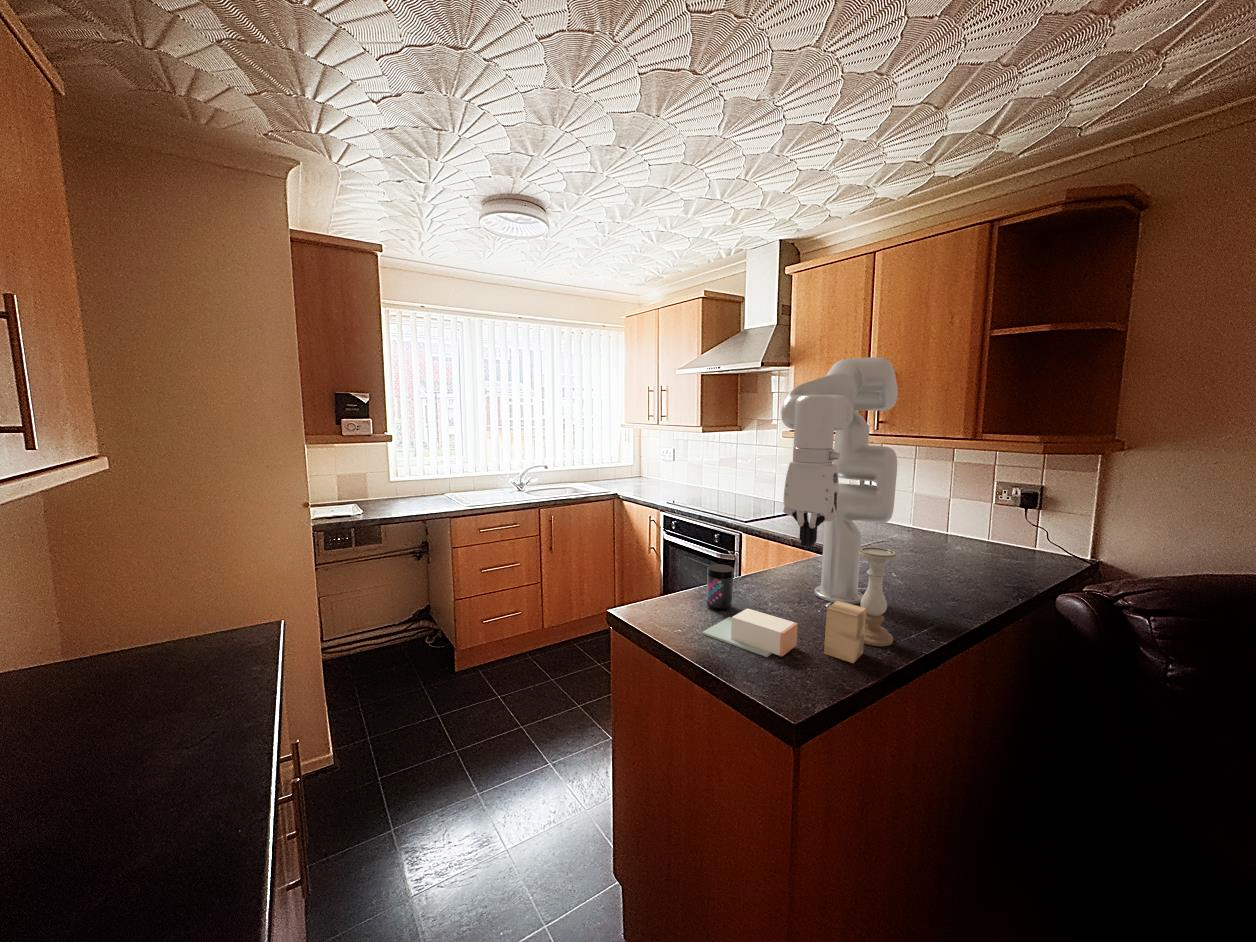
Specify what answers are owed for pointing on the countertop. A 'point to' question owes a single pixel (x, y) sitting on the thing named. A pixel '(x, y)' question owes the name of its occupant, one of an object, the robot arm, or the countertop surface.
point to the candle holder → (875, 596)
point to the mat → (724, 634)
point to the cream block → (764, 631)
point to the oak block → (845, 631)
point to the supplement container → (720, 587)
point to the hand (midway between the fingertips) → (807, 544)
